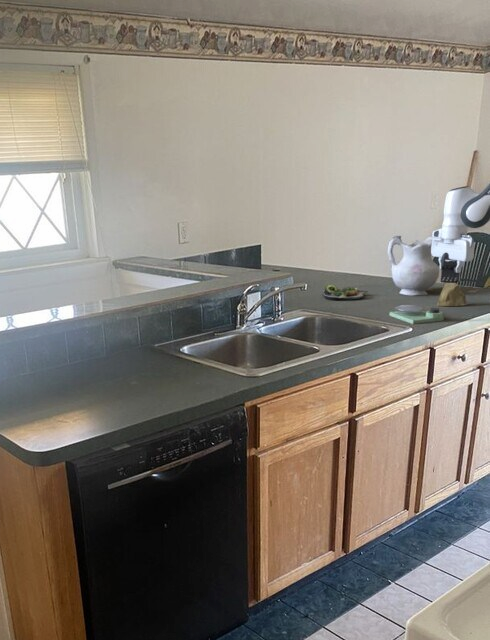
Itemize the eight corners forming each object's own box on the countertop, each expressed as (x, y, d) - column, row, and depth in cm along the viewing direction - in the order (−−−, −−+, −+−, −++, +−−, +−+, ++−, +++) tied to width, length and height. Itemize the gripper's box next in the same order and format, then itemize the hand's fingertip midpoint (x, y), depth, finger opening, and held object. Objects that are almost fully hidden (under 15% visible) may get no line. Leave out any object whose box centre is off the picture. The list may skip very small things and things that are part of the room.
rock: (472, 298, 263) (448, 292, 269) (472, 283, 256) (447, 277, 262) (459, 318, 260) (435, 311, 266) (458, 303, 254) (434, 297, 260)
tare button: (440, 313, 241) (441, 309, 240) (433, 314, 240) (433, 309, 239) (435, 311, 243) (435, 307, 243) (428, 312, 243) (428, 308, 242)
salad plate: (364, 291, 294) (364, 281, 292) (371, 300, 278) (372, 289, 276) (320, 292, 296) (320, 282, 294) (325, 301, 280) (326, 290, 278)
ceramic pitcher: (392, 301, 280) (400, 241, 268) (377, 289, 297) (384, 232, 285) (442, 298, 280) (452, 239, 268) (424, 287, 297) (433, 230, 286)
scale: (445, 320, 241) (446, 312, 240) (413, 324, 238) (414, 316, 237) (419, 312, 255) (420, 304, 253) (389, 315, 251) (390, 308, 250)
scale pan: (429, 310, 244) (429, 309, 243) (405, 313, 241) (405, 311, 241) (412, 305, 253) (413, 303, 252) (390, 308, 250) (390, 306, 250)
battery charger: (438, 283, 250) (441, 252, 246) (441, 281, 253) (443, 251, 249) (457, 283, 246) (460, 252, 242) (460, 282, 249) (463, 251, 245)
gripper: (480, 234, 234) (476, 273, 239) (443, 230, 253) (440, 266, 258) (465, 236, 233) (461, 275, 238) (429, 231, 251) (426, 268, 256)
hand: (450, 270), depth 248 cm, fingers closed on battery charger, 7 cm apart
